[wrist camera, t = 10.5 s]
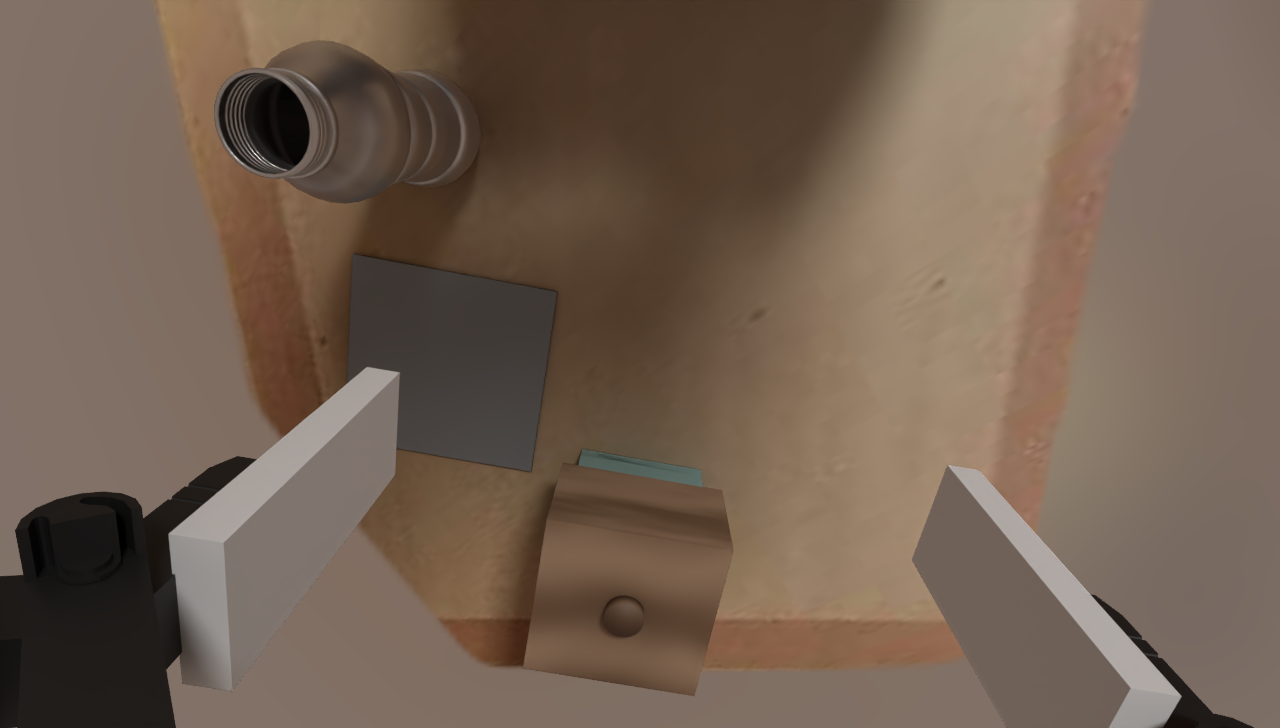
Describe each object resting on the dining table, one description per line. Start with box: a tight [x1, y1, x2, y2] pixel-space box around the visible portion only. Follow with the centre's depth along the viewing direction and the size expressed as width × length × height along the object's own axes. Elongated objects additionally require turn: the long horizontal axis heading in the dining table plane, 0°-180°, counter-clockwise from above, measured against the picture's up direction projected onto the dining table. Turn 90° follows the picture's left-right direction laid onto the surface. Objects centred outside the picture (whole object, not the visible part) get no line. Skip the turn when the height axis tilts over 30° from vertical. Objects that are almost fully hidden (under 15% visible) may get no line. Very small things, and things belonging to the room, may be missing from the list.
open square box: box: [579, 449, 703, 487], centre depth 49 cm, size 9×9×4 cm
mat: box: [347, 254, 557, 472], centre depth 48 cm, size 14×14×1 cm
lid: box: [523, 463, 733, 696], centre depth 43 cm, size 11×11×8 cm
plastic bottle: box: [214, 40, 480, 203], centre depth 33 cm, size 6×7×20 cm
